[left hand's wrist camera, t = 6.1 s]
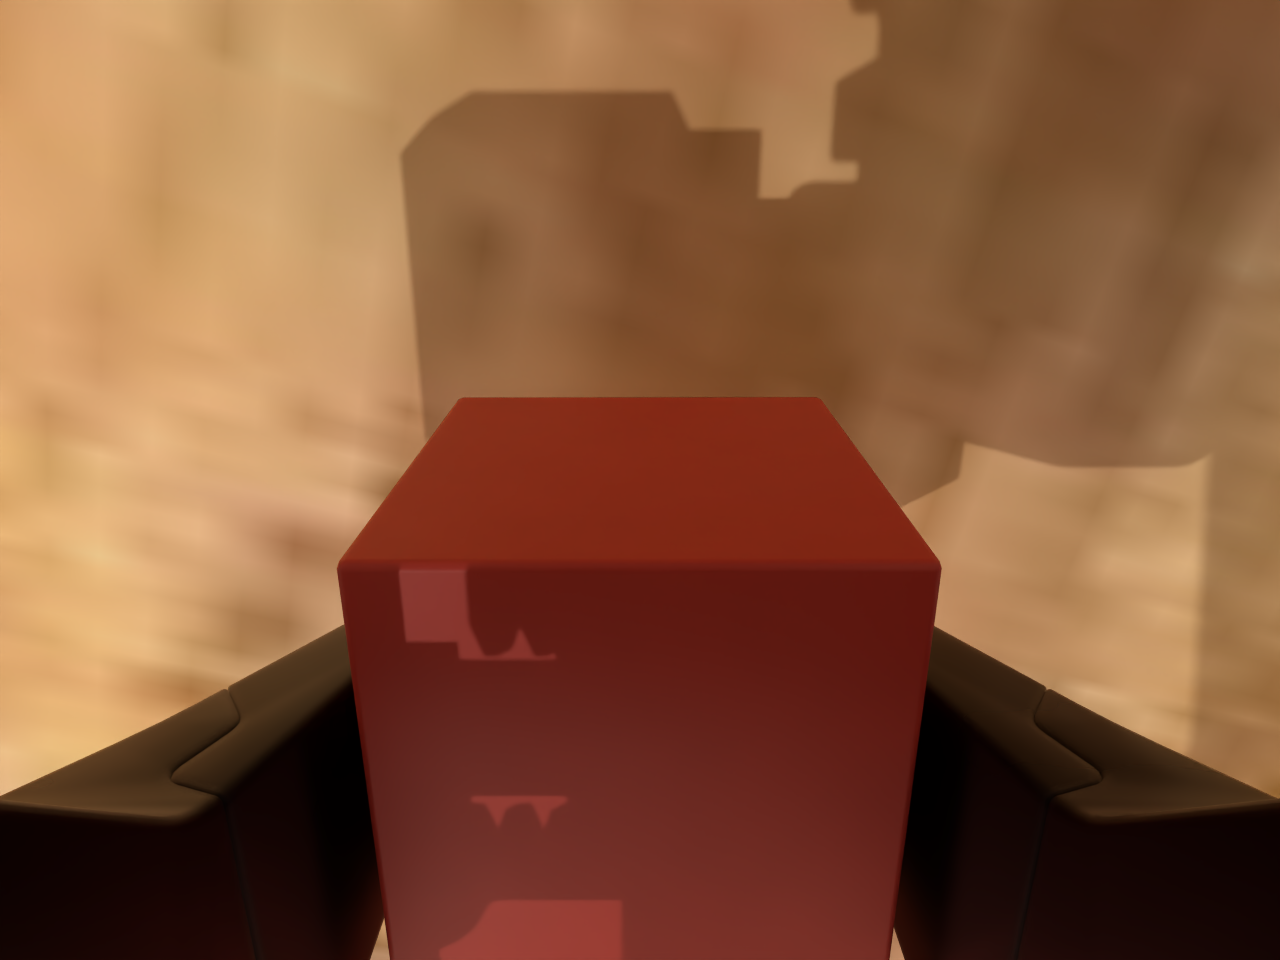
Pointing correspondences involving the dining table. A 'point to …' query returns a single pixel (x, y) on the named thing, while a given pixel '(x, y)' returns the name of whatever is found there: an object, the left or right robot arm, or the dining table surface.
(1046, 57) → the dining table surface
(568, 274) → the dining table surface
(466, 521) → the block
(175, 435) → the dining table surface
